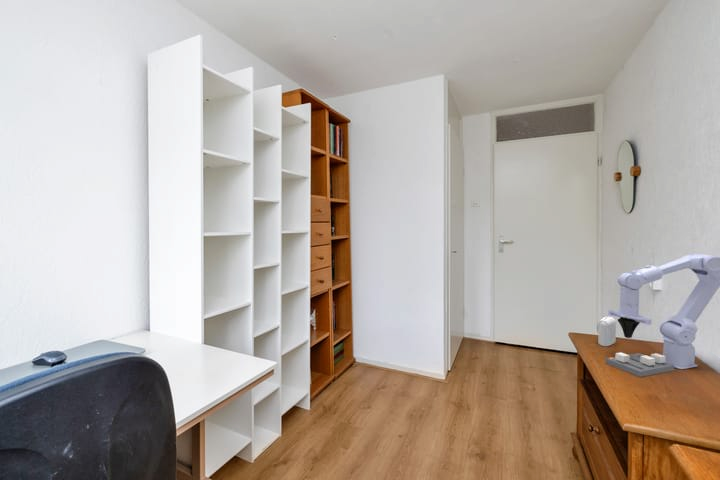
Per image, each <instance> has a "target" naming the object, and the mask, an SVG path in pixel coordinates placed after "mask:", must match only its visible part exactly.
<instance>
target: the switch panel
mask: <svg viewBox="0 0 720 480" xmlns="http://www.w3.org/2000/svg"><path fill="white" fill-rule="evenodd" d="M629 355H630V359H629V362H621V361H618V360H616V359H615V356H613V357H612V356H611V357H606V358H605V364H606V365H609V366H611V367H614V368H617V369H619V370H621V371H623V372H626V373H629V374H632V375H633V376H636V377H639V378H641V377H648V376H652V375H653V376H654V375H658V374H659V375H660V374H663V373H668V372H669V373H670V372H673V371H675V367H674V365H672V364H669V363H666V362H665V363H657V362H655V365H651V366H649V365H646V364H643V363H640V356H644V355H645V354H642V353H639V352H637V353H630V354H629Z"/></svg>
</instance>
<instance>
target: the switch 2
mask: <svg viewBox="0 0 720 480" xmlns="http://www.w3.org/2000/svg"><path fill="white" fill-rule="evenodd" d="M650 357H653V358H655V362H657V363H665V358H666V356H663V354H660V353H656V352H655V353H651V354H650Z"/></svg>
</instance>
